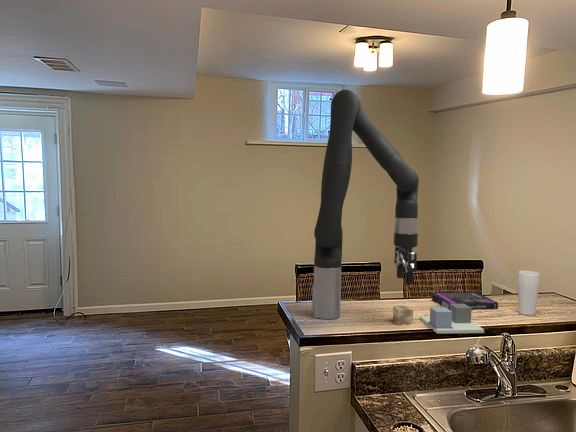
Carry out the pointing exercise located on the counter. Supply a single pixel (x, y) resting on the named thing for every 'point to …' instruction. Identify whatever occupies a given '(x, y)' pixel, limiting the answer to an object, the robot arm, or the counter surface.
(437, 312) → the slate block
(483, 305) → the box
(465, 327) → the build plate
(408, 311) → the maple block
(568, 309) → the counter surface
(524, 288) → the drinking glass
